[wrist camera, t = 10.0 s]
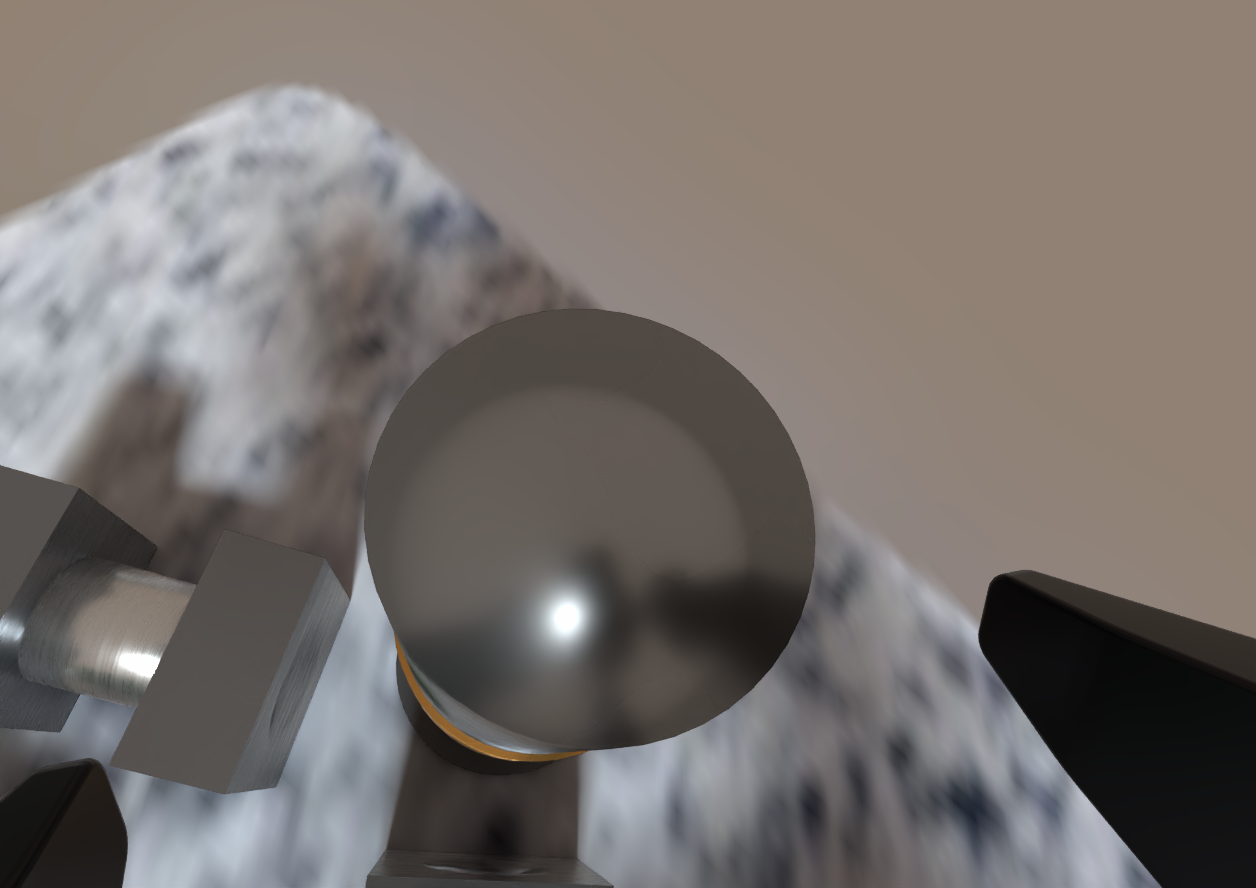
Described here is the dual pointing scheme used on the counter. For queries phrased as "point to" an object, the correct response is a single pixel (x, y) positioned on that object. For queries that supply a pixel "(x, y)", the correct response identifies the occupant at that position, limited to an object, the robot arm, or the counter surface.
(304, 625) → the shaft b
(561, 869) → the grey metal block
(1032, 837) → the counter surface
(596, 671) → the sleeve
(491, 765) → the pad
